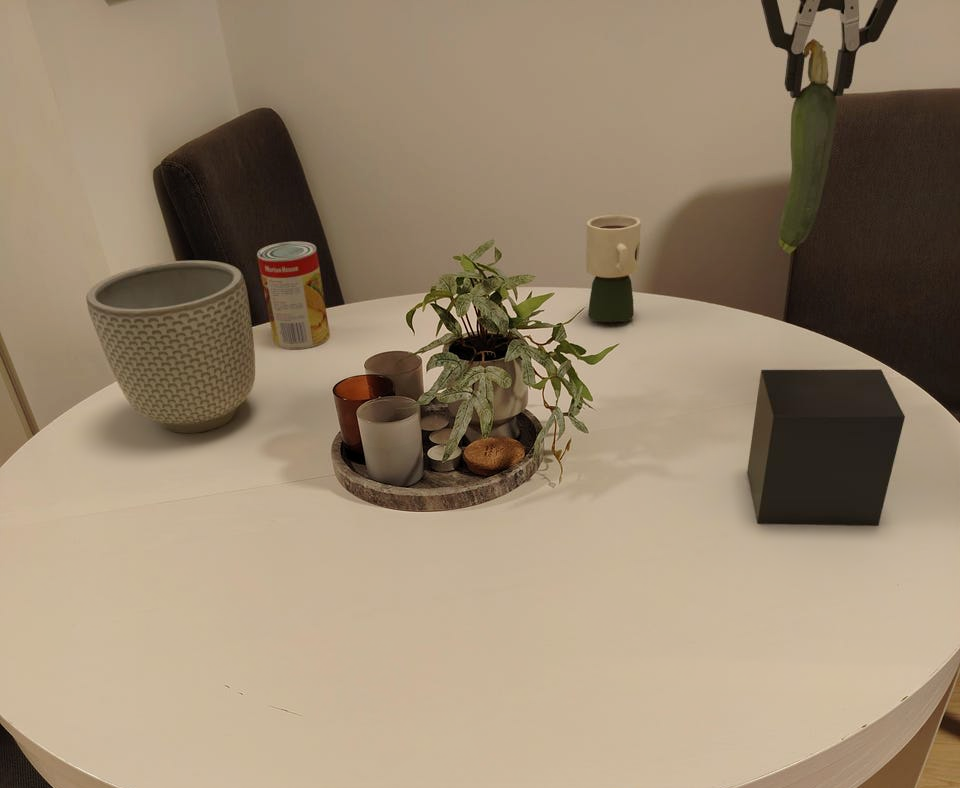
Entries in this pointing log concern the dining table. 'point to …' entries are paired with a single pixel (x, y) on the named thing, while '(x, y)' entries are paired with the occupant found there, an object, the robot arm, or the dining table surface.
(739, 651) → the dining table surface
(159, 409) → the planter
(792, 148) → the vegetable
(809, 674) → the dining table surface
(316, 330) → the canned food
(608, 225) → the character mug
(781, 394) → the matte black cube
